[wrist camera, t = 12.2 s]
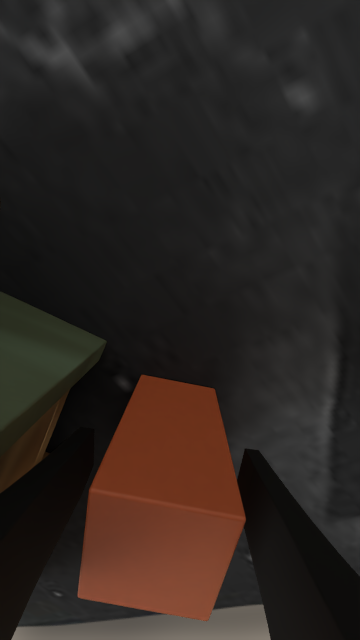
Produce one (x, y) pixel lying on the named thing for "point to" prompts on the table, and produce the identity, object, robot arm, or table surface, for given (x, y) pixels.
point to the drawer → (36, 380)
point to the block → (163, 505)
